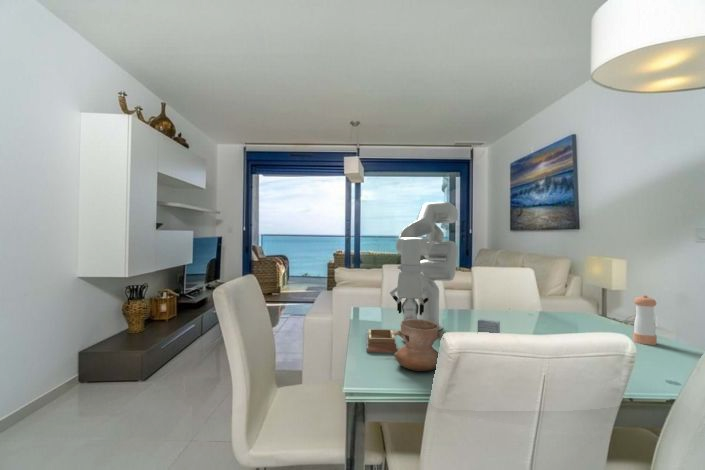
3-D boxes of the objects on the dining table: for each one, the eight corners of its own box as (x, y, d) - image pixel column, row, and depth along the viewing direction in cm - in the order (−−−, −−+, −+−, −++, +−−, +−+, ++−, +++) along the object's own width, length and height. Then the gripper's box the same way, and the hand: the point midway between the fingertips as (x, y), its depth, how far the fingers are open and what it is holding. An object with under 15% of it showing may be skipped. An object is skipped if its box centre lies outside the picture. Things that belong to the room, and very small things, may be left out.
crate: (368, 340, 136) (368, 329, 136) (392, 340, 135) (392, 329, 135) (369, 350, 123) (369, 338, 123) (394, 351, 123) (394, 338, 123)
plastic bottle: (418, 346, 131) (419, 294, 131) (401, 345, 132) (401, 293, 133) (419, 341, 137) (419, 292, 138) (402, 340, 139) (402, 291, 139)
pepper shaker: (657, 342, 139) (657, 295, 139) (655, 346, 134) (656, 297, 134) (634, 338, 144) (634, 293, 144) (632, 342, 139) (632, 295, 139)
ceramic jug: (391, 373, 105) (393, 327, 105) (392, 356, 119) (393, 316, 119) (451, 378, 103) (453, 331, 103) (445, 360, 117) (446, 319, 117)
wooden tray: (366, 335, 146) (366, 326, 146) (392, 335, 145) (392, 326, 145) (366, 354, 122) (366, 343, 122) (397, 355, 121) (397, 344, 121)
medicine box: (500, 342, 137) (500, 320, 137) (498, 345, 134) (498, 323, 134) (479, 339, 142) (479, 318, 142) (477, 341, 138) (477, 320, 138)
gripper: (387, 269, 134) (386, 313, 134) (432, 270, 129) (432, 317, 129) (390, 267, 141) (390, 310, 141) (433, 269, 136) (433, 313, 136)
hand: (410, 313), depth 135 cm, fingers open, 7 cm apart
